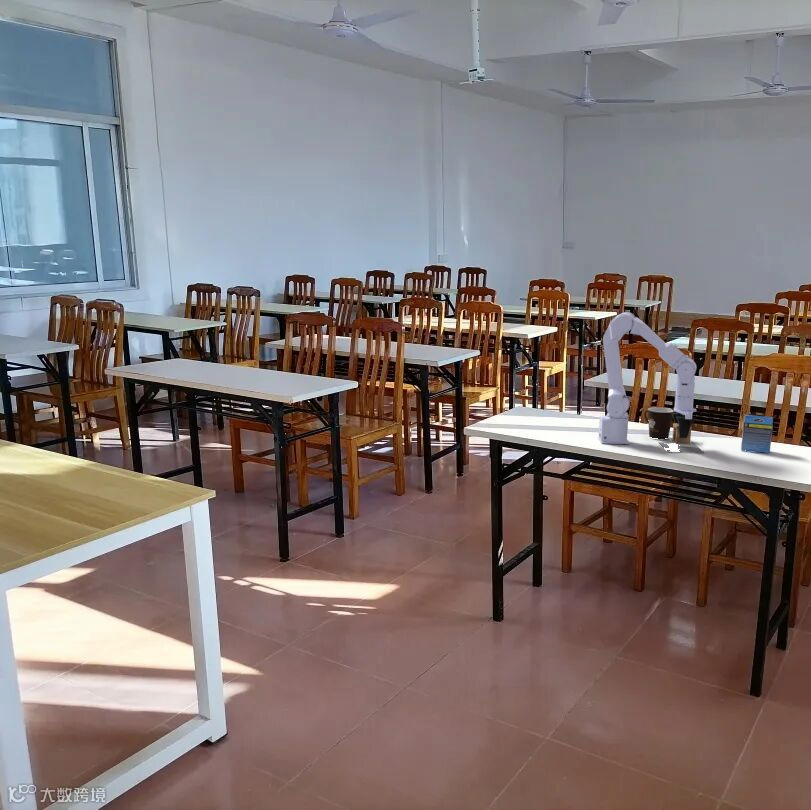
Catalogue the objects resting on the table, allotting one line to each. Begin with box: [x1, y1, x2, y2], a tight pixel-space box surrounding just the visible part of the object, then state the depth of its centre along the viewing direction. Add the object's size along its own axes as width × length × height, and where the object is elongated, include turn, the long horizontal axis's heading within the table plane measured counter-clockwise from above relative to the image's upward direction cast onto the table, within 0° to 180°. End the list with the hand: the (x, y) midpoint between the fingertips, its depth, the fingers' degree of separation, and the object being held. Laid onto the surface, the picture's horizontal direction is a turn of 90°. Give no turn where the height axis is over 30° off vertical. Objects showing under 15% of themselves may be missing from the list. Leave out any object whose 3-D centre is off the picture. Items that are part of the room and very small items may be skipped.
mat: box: [657, 441, 705, 454], centre depth 277 cm, size 12×12×1 cm
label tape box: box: [740, 414, 774, 454], centre depth 273 cm, size 9×4×12 cm, turn 68°
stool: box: [672, 423, 693, 444], centre depth 276 cm, size 5×4×6 cm
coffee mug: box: [643, 407, 675, 439], centre depth 292 cm, size 12×9×10 cm
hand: (681, 435), depth 276 cm, fingers closed on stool, 4 cm apart
